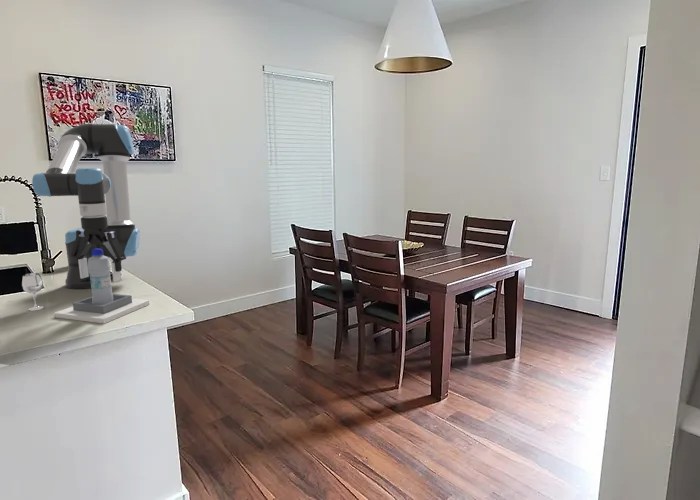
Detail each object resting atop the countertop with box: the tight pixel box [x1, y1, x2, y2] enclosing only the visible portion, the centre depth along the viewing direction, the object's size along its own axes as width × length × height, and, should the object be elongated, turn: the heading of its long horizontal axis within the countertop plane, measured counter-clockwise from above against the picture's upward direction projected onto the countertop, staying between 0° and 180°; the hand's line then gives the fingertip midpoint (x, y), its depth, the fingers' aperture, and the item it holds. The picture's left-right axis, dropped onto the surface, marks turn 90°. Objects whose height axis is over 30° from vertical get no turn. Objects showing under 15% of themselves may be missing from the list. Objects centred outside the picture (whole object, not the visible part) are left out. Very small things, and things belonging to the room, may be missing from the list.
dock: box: [53, 293, 150, 324], centre depth 153 cm, size 20×20×4 cm
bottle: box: [88, 248, 114, 305], centre depth 151 cm, size 7×7×20 cm
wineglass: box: [21, 272, 45, 312], centre depth 154 cm, size 6×6×12 cm
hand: (100, 279), depth 152 cm, fingers open, 13 cm apart
